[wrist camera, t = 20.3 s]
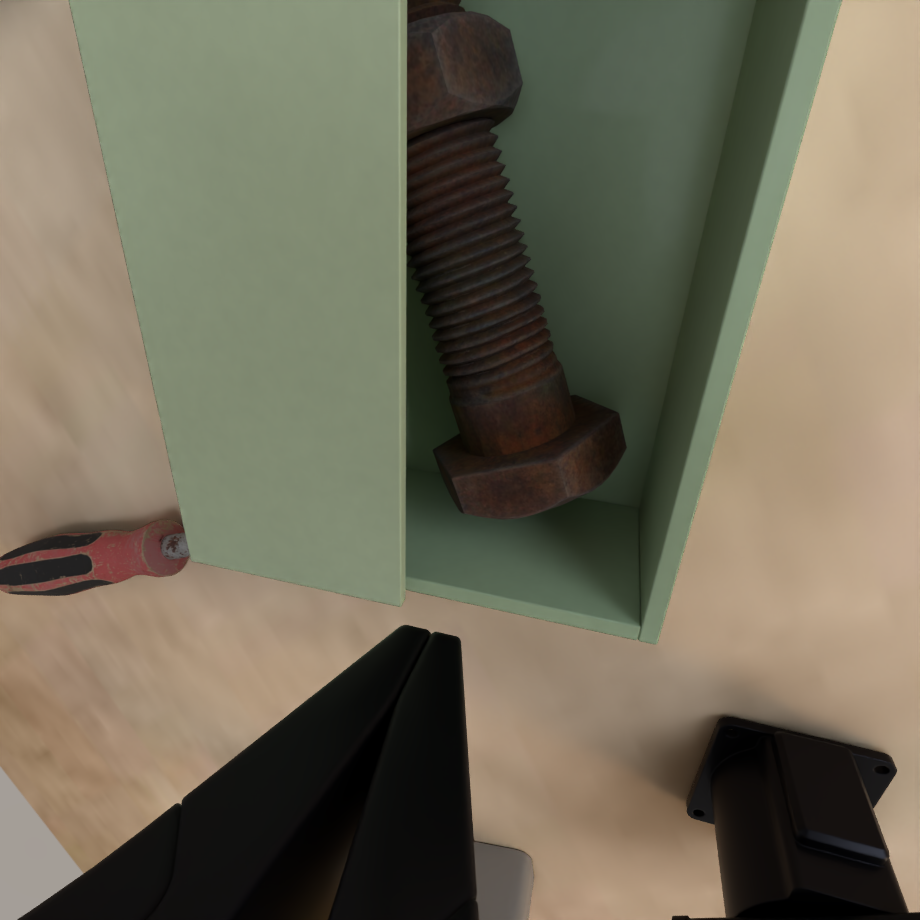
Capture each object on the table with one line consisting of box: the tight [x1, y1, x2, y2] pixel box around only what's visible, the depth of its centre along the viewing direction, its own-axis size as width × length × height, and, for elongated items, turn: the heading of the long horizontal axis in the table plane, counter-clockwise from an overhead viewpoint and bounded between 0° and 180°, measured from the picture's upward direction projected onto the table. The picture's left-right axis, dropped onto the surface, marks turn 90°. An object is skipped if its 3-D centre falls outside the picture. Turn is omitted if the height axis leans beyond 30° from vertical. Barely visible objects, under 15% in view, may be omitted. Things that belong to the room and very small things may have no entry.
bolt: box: [406, 0, 627, 520], centre depth 15 cm, size 6×5×15 cm
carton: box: [405, 0, 842, 644], centre depth 15 cm, size 19×14×6 cm
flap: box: [69, 0, 407, 607], centre depth 12 cm, size 19×7×1 cm, turn 177°
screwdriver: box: [0, 520, 190, 596], centre depth 26 cm, size 25×3×3 cm, turn 108°
